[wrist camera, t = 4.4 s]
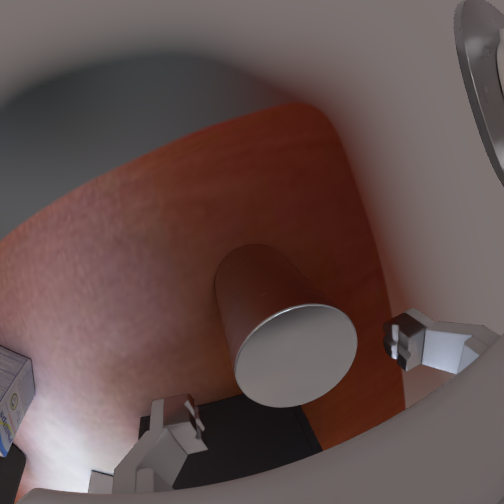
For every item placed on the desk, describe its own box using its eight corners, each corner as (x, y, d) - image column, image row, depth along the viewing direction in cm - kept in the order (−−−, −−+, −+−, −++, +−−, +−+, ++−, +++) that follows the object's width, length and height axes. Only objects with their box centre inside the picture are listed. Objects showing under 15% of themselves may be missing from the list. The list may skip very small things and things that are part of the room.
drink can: (282, 234, 19) (353, 284, 10) (297, 303, 20) (359, 381, 12) (204, 257, 18) (216, 331, 10) (226, 326, 20) (253, 422, 11)
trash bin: (287, 379, 22) (338, 479, 12) (306, 453, 26) (339, 524, 16) (140, 417, 21) (133, 520, 11) (195, 482, 25) (206, 556, 15)
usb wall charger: (91, 469, 22) (87, 494, 18) (148, 482, 24) (148, 508, 20) (94, 482, 22) (91, 506, 19) (147, 494, 24) (147, 518, 21)
